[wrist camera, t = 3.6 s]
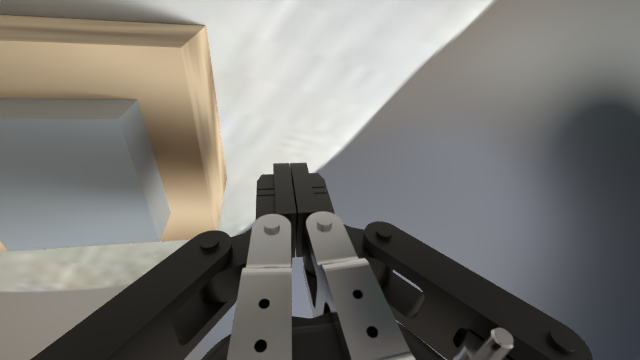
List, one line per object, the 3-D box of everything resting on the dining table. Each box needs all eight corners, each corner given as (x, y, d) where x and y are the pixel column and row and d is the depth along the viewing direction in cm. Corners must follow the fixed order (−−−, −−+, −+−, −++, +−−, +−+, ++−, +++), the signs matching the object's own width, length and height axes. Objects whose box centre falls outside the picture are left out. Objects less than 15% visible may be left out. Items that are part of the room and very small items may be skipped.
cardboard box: (-62, 11, 14) (-241, 30, 9) (206, 25, 16) (181, 47, 11) (39, 184, 19) (-36, 254, 14) (226, 178, 21) (216, 237, 17)
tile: (-41, 97, 11) (-96, 119, 9) (138, 99, 12) (117, 118, 10) (37, 219, 14) (8, 251, 12) (170, 212, 15) (159, 241, 13)
